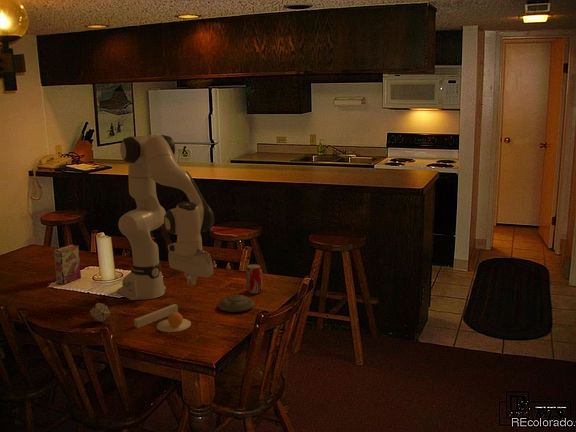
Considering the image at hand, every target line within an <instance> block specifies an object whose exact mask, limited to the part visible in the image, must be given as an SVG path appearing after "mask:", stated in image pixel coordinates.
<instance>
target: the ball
mask: <svg viewBox="0 0 576 432" xmlns="http://www.w3.org/2000/svg"><path fill="white" fill-rule="evenodd" d="M167 319H168V323H169V324H170V325H171V326H172V327H178V326H180V325H181V323H182V321H183V319H184V317H183V315H182V313H179V311H178V312H173V313H171V314H170V315H169V316H167Z"/></svg>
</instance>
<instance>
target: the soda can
mask: <svg viewBox="0 0 576 432" xmlns="http://www.w3.org/2000/svg"><path fill="white" fill-rule="evenodd" d="M246 267H247V268H246V271H245V279H246V283H245V284H246V292H248V293H249V294H253V295H257V294H258V295H259V294H260V293H261V292H262V291H263V269H262V267H261V265H260V264H256V263H252V264H248V265H247V266H246Z"/></svg>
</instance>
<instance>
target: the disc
mask: <svg viewBox="0 0 576 432" xmlns="http://www.w3.org/2000/svg"><path fill="white" fill-rule="evenodd" d="M191 325H192V322H191V321H190V320H189V319H186V318H183V321H182V323H181V325H180V326H178V327H172V326H171V325H170V324H169V323H168V318H167V319H164V320H162V321H160V322H158V323H157V324H156V329H157V330H158V331H160V332H163V333H164V332H165V333H176V332H182V331H184V330H187V329H188V328H190V327H191Z"/></svg>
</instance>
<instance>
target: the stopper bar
mask: <svg viewBox="0 0 576 432" xmlns="http://www.w3.org/2000/svg"><path fill="white" fill-rule="evenodd" d="M173 312H178V313H179V306H178V304H176V303H173V304H170V305H168V306H165V307H162V308H161V309H158V310H154V311H151V312H150V313H147V314H145V315H142V316H139V317H137V318H134V319H133V323H134V328H136V329H139V328H142V327H143V326H146V325H149V324H151V323H154V322H156V321H159V320H161V319H164V318H168V317H169V315H170V314H171V313H173Z"/></svg>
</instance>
